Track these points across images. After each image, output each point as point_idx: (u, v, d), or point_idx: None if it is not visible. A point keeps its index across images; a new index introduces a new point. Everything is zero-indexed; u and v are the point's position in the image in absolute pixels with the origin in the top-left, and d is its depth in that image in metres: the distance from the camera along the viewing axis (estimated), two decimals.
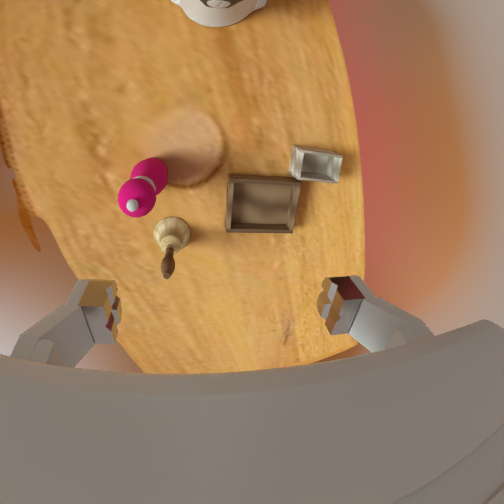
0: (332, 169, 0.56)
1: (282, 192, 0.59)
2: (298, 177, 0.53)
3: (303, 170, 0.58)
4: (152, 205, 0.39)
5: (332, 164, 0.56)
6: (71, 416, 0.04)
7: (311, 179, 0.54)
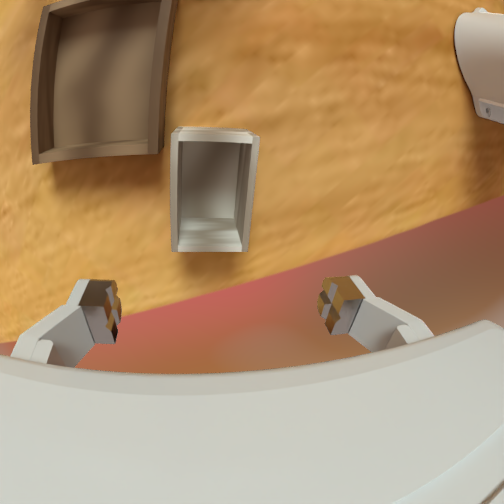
0: (202, 231, 0.24)
1: (126, 118, 0.20)
2: (177, 136, 0.17)
3: (185, 162, 0.23)
4: None
5: (214, 229, 0.24)
6: (71, 416, 0.04)
7: (174, 175, 0.18)
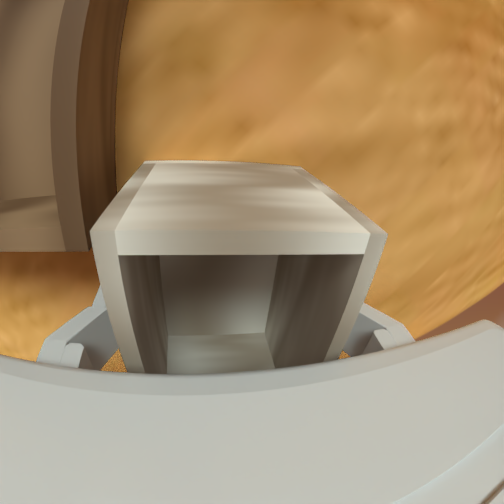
0: None
1: (36, 149, 0.08)
2: (113, 237, 0.05)
3: None
4: None
5: None
6: (71, 416, 0.04)
7: (128, 344, 0.06)
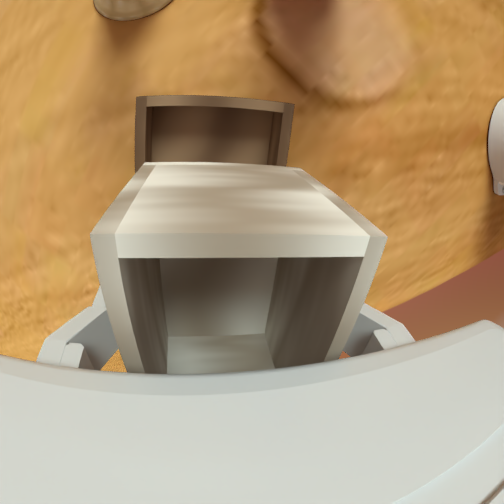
0: None
1: None
2: (113, 240, 0.05)
3: None
4: None
5: None
6: (71, 416, 0.04)
7: (128, 346, 0.06)
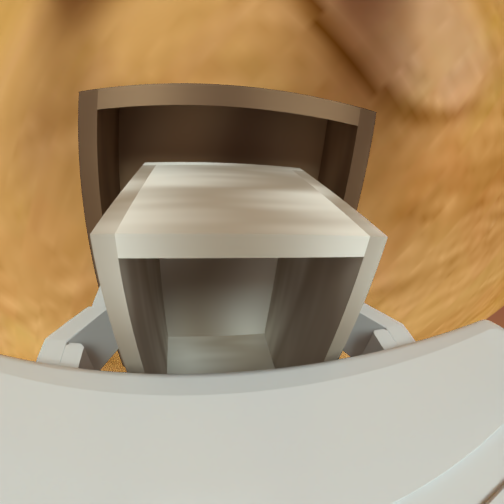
0: None
1: None
2: (113, 240, 0.05)
3: None
4: None
5: None
6: (71, 416, 0.04)
7: (128, 346, 0.06)
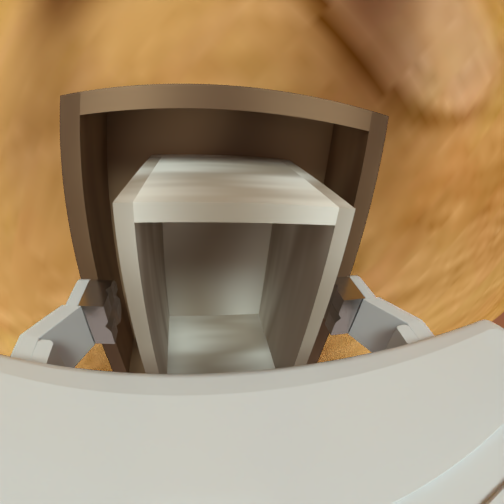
0: (208, 357, 0.13)
1: None
2: (131, 208, 0.06)
3: (168, 227, 0.12)
4: None
5: (228, 350, 0.13)
6: (71, 416, 0.04)
7: (137, 304, 0.07)
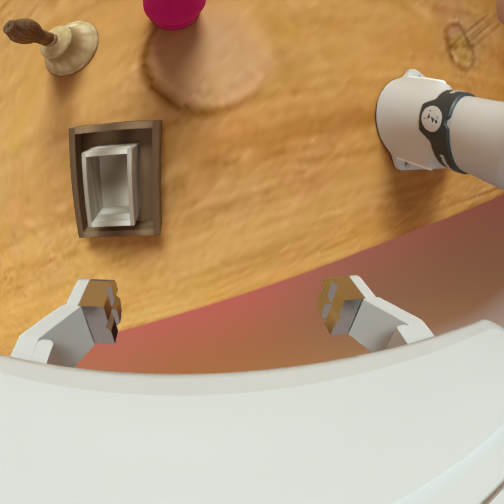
0: (110, 214, 0.32)
1: None
2: (85, 154, 0.25)
3: (101, 169, 0.31)
4: None
5: (119, 213, 0.32)
6: (71, 416, 0.04)
7: (85, 178, 0.26)
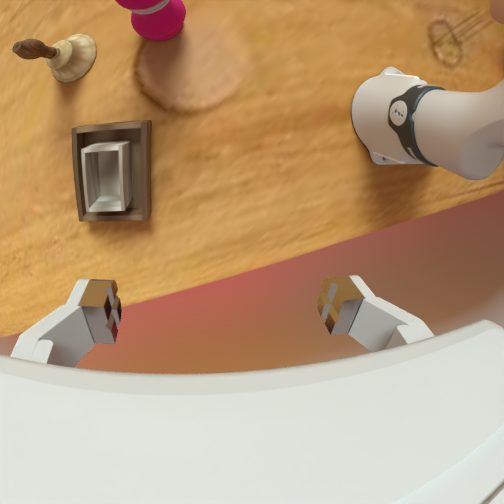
0: (106, 201, 0.36)
1: None
2: (84, 150, 0.30)
3: (100, 162, 0.36)
4: (127, 2, 0.15)
5: (113, 200, 0.37)
6: (71, 416, 0.04)
7: (84, 170, 0.31)
